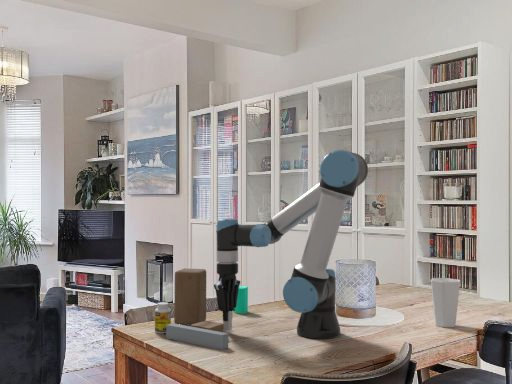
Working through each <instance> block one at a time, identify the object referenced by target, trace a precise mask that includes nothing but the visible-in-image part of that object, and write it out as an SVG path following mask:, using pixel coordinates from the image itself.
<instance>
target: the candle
mask: <svg viewBox="0 0 512 384" xmlns="http://www.w3.org/2000/svg"><path fill="white" fill-rule="evenodd" d="M248 296H249V287H248V285H239V289H238V297H237V305H236V308H234V309H235V311H232V313H235V314H246V313H247V314H248V312H249V311H248V308H249V307H248V306H249V303H248V302H249V297H248Z"/></svg>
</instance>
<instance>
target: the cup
mask: <svg viewBox="0 0 512 384" xmlns="http://www.w3.org/2000/svg"><path fill="white" fill-rule="evenodd" d="M429 281H430V287H431V296H432V304H433V305H432V306H433V308H432V309H433V316H434V324H435V326H436V327H440V328H455V327H456V324H457V323H456V322H457V313H458V306H459V296H460V295H459V294H460V288H461V287H460V286H461V280H460V279H455V278H449V277H432V278H431V279H430V280H429Z"/></svg>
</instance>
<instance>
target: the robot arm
mask: <svg viewBox="0 0 512 384" xmlns="http://www.w3.org/2000/svg"><path fill="white" fill-rule="evenodd" d="M319 173H320V176H321V178H320V180H319V182H318V183H316V185H314V186H313V187H311V188H310V189H309V190H308V191H306V192H305V193H304V194H301V196H299V197H298V198H297V199H295V200H293V201H292V202H291V203H290V204H288V206H286V207H285V208H283V209H282V210H280V211H279V212H278V213H277V214H275V215H274V216H273V217H271V218H270V219H268V220H267V221H266V222H264V223H259V224H239V221H238V219H237V218H219V219H218V220H217V222H216V231H215V233H216V262H218V263H216V274H218V282H217V283H215V284H213V287H214V289H215V295H216V300H217V301H216V302H217V309H218V311H220V312H222V324H224V331H229V332H230V331H232V330H233V311H235V309H234V308H236V305H237V297H238V289H239V286H241V280H240V279H239V280H238V279H237V274H238V273H239V264H238V262H239V247H252V248H254V247H255V248H265V247H269V245H273V244H276V243H278V242H279V241H281V238H282V237H283V236H284V235H285V234H287V233H289V232H290V231H291V230H293V228H296V227H297V226H298V225H299V224H301V223H302V222H304V221H305V220H306V219H309V217H311V216H312V215H313V214H314V217H313V219H312V220H313V221H312V223H311V227H310V230H309V232H308V233H309V234H308V237H307V239H306V243H305V246H304V250H303V254H302V257H301V260H300V262H299V263H296V264H295V265H294V267H293V270H292V273H291V276H290V278H289V279H287V281H286V282H285V284H284V286H283V289H282V297H283V301H284V302H285V305H286V306H287V307H288V308H290V309H291V310H292V311H294V312H295V313H299V314H300V316H299V319H298V323H297V326H296V333H297V335H298V336H300V337H302V338H303V337H304V338H307V339H318V340H320V339H321V340H323V339H324V340H325V339H334V338H337V337H340V336H341V325H340V323H339V320H338V316H337V313H336V280H337V278H336V271H335V270H334V269H332V268H327V267H328V264H329V261H330V257H331V255H332V252H333V249H334V245H335V242H336V238H337V235H338V233H339V228H340V226H341V223H342V220H343V216H344V212H345V209H346V206H347V203H348V201H349V200H351V199H352V198H354V196H355V193H356V190H357V188H358V187H360V185H362V184H363V183H365V181H366V179H367V177H368V174H369V167H368V162H367V161H366V159H365V158H364V157H363V156H362V155H360V154H358V153H356V152H352V151H349V150H347V149H346V150H344V149H337V150H332V151H331V152H328V153H327V154H326V155H325V156H324V157H323V158H322V160H321V163H320V165H319Z"/></svg>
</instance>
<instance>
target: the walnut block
mask: <svg viewBox="0 0 512 384" xmlns="http://www.w3.org/2000/svg"><path fill="white" fill-rule="evenodd" d="M189 326H190V327H196V328H202V329H207V330H213V331H218V332H224V331H225V330H224V324H223V322H222V323H221V322H216V321H209V320H205V321H202V322H199V323H196V324H192V325H189ZM224 333H225V332H224Z"/></svg>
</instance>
